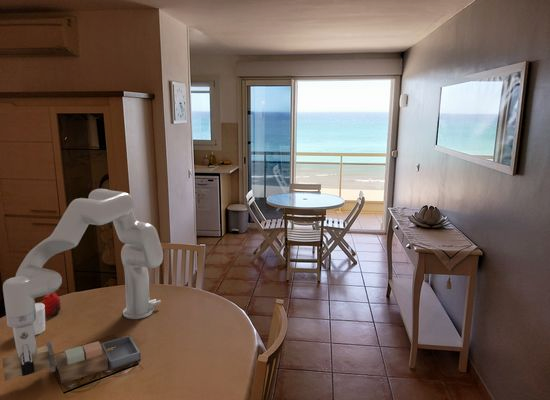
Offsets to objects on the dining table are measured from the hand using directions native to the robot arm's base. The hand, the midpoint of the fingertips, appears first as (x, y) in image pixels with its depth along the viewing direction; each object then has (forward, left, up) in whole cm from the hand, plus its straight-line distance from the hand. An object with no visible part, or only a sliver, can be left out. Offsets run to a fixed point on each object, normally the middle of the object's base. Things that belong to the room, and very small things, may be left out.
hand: (27, 369), depth 125 cm
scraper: (0, 0, 0) cm, 0 cm away
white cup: (-4, -34, -5) cm, 35 cm away
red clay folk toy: (-11, -46, -5) cm, 48 cm away
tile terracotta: (-19, 0, -1) cm, 19 cm away
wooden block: (-15, 0, -5) cm, 16 cm away
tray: (-28, 0, -5) cm, 28 cm away
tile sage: (-13, 0, -1) cm, 13 cm away
